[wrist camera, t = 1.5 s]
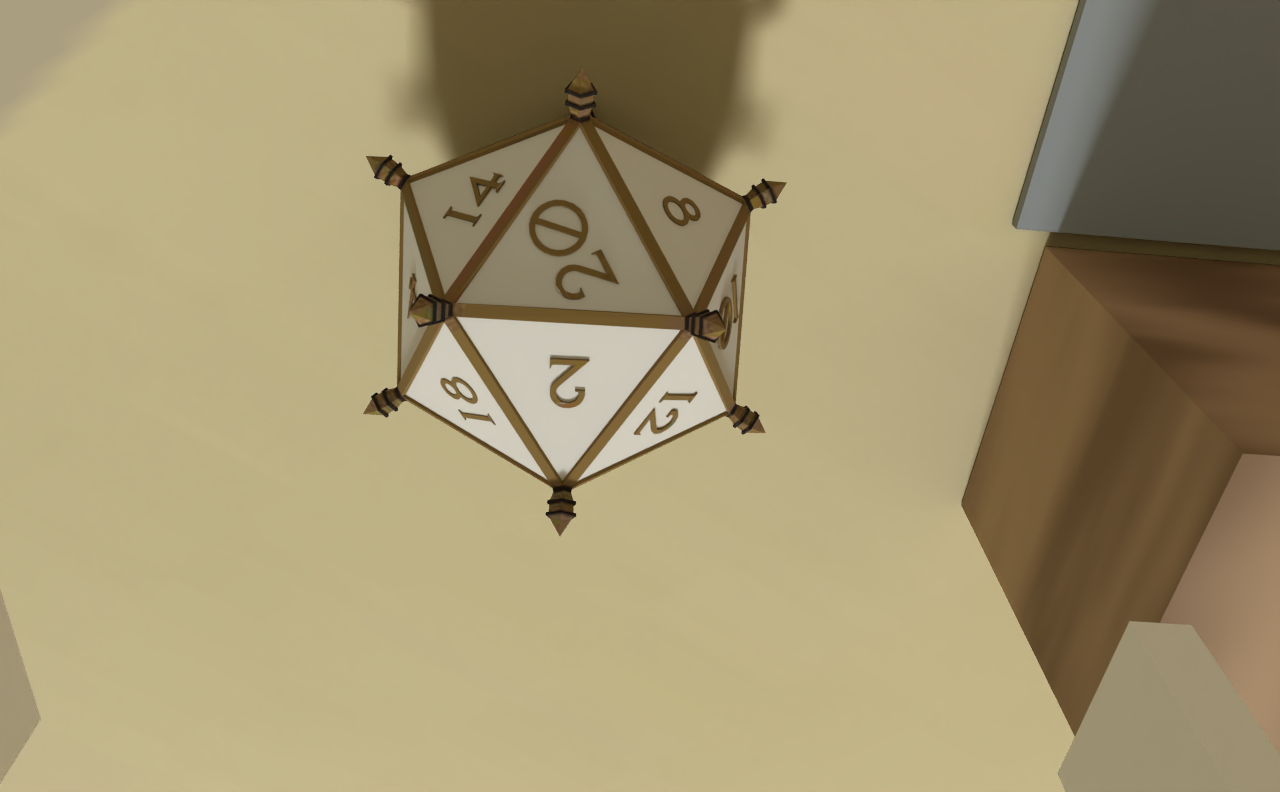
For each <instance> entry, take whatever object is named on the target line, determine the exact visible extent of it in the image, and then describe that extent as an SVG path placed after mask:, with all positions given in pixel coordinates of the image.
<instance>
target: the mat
mask: <svg viewBox="0 0 1280 792" xmlns="http://www.w3.org/2000/svg"><path fill="white" fill-rule="evenodd" d="M1012 225H1013V226H1014V227H1015V228H1016V229H1024V230H1036V231H1048V232H1060V233H1072V234H1085V235H1097V236H1109V237H1121V238H1133V239H1145V240H1158V241H1170V242H1182V243H1194V244H1206V245H1218V246H1231V247H1243V248H1255V249H1267V250H1279V251H1280V0H1080V2H1079V5H1078V9H1077V12H1076V15H1075V19H1074V22H1073V25H1072V28H1071V32H1070V35H1069V38H1068V42H1067V45H1066V48H1065V52H1064V55H1063V58H1062V61H1061V65H1060V68H1059V71H1058V75H1057V78H1056V81H1055V84H1054V88H1053V91H1052V94H1051V98H1050V101H1049V104H1048V108H1047V111H1046V114H1045V117H1044V121H1043V124H1042V127H1041V131H1040V134H1039V137H1038V140H1037V144H1036V147H1035V150H1034V154H1033V157H1032V160H1031V164H1030V167H1029V170H1028V173H1027V177H1026V180H1025V183H1024V187H1023V190H1022V193H1021V196H1020V200H1019V203H1018V206H1017V210H1016V213H1015V216H1014V219H1013V223H1012Z"/></svg>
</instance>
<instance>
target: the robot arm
mask: <svg viewBox="0 0 1280 792" xmlns="http://www.w3.org/2000/svg"><path fill="white" fill-rule="evenodd" d="M40 719H41V718H40V715H39V712H38V708H37V705H36V702H35V699H34V696H33V692H32V689H31V686H30V683H29V680H28V677H27V673H26V670H25V667H24V664H23V661H22V657H21V654H20V651H19V648H18V645H17V641H16V638H15V635H14V632H13V629H12V625H11V622H10V619H9V616H8V613H7V609H6V606H5V603H4V600H3V597H2V593H1V590H0V783H1V782H2V780H3V778H4V777H5V775H6V774H7V772H8V770H9V769H10V767H11V766H12V764H13V762H14V761H15V759H16V758H17V756H18V754H19V753H20V751H21V750H22V748H23V747H24V745H25V743H26V742H27V740H28V739H29V737H30V735H31V734H32V732H33V731H34V729H35V727H36V726H37V724H38V723H39V721H40ZM1058 775H1059V778H1060V780H1061V782H1062V784H1063V787H1064V789H1065V791H1066V792H1280V755H1279V754H1278V752H1277V751H1276V749H1275V748H1274V746H1273V745H1272V743H1271V742H1270V740H1269V739H1268V737H1267V736H1266V734H1265V733H1264V731H1263V730H1262V728H1261V727H1260V726H1259V724H1258V723H1257V721H1256V720H1255V718H1254V717H1253V715H1252V714H1251V712H1250V711H1249V709H1248V708H1247V706H1246V705H1245V703H1244V702H1243V700H1242V699H1241V697H1240V696H1239V694H1238V693H1237V691H1236V690H1235V689H1234V687H1233V686H1232V684H1231V683H1230V681H1229V680H1228V678H1227V677H1226V675H1225V674H1224V672H1223V671H1222V669H1221V668H1220V666H1219V665H1218V663H1217V662H1216V660H1215V659H1214V657H1213V656H1212V654H1211V653H1210V652H1209V650H1208V649H1207V647H1206V646H1205V644H1204V643H1203V641H1202V640H1201V638H1200V637H1199V635H1198V634H1197V632H1196V631H1195V629H1194V628H1193V626H1192V625H1184V624H1168V623H1152V622H1136V621H1129V623H1128V626H1127V628H1126V630H1125V632H1124V634H1123V636H1122V638H1121V640H1120V642H1119V645H1118V647H1117V649H1116V651H1115V653H1114V655H1113V657H1112V659H1111V662H1110V664H1109V666H1108V668H1107V670H1106V672H1105V674H1104V676H1103V678H1102V681H1101V683H1100V685H1099V687H1098V689H1097V691H1096V693H1095V695H1094V698H1093V700H1092V702H1091V704H1090V706H1089V708H1088V710H1087V712H1086V714H1085V717H1084V719H1083V721H1082V723H1081V725H1080V727H1079V729H1078V731H1077V733H1076V736H1075V738H1074V740H1073V742H1072V744H1071V746H1070V748H1069V750H1068V753H1067V755H1066V757H1065V759H1064V761H1063V763H1062V765H1061V767H1060V769H1059V772H1058Z"/></svg>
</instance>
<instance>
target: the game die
mask: <svg viewBox="0 0 1280 792" xmlns="http://www.w3.org/2000/svg"><path fill="white" fill-rule="evenodd" d="M565 93H568V99H567V100H566V101H565V105H567V106H569V109H570V113H571V114H570V115H568V116H565V117H562V118H560V119H557V120H555V121H552V122H549V123H547V124H544V125H542V126H539V127H536V128H534V129H531V130H529V131H526V132H523V133H521V134H518V135H516V136H513V137H511V138H508V139H505V140H503V141H500V142H498V143H495V144H492V145H490V146H487V147H485V148H482V149H479V150H477V151H474V152H472V153H469V154H466V155H464V156H461V157H459V158H456V159H454V160H451V161H448V162H446V163H443V164H441V165H438V166H435V167H433V168H430V169H428V170H425V171H422V172H420V173H417V174H415V175H412V176H411V175H408V174H407V173H406V172H405V171H404V170H403V168H402V164H401V163H399V164H397V163H396V162H395V161H394V160H392V157H393V156H391V155H390V156H389V157H374V156H366V157H367V159H368V161H369V163H370V165H371V168H372V170H373V172H374V174H375V176H374V178H376V179H382V180H383V181H385V183H384V184H386V185H389V186H390V185H393V186H396V187H398V188H399V189H400V190H401V203H400V258H399V313H398V368H397V387H396V388H393V389H389V390H388V389H387V388H385V389H384V390H383V391H382V393H380V394H378V393H375V394H374V395H372V396H371V398H372V400H371V402H370V403H369V405H368V407H367V408H366V410H365V412H364V413H363V414H373V415H384V416H385V417H386V418H387V417H388V413H390V412H391V411H393V410H394V411H398V408H397V407H398V406H399V405H400V404H401V403H402V402H404V401H408V402H410V403H412V404H413V405H415V406H417V407H418V408H420V409H422V410H423V411H425V412H427V413H428V414H430V415H432V416H433V417H435V418H437V419H438V420H440V421H442V422H443V423H445V424H447V425H448V426H450V427H452V428H453V429H455V430H457V431H458V432H460V433H462V434H463V435H465V436H467V437H468V438H470V439H472V440H473V441H475V442H477V443H478V444H480V445H482V446H483V447H485V448H487V449H488V450H490V451H492V452H493V453H495V454H497V455H498V456H500V457H502V458H503V459H505V460H507V461H508V462H510V463H512V464H513V465H515V466H517V467H518V468H520V469H522V470H523V471H525V472H527V473H528V474H530V475H532V476H533V477H535V478H537V479H539V480H540V481H542V482H544V483H545V484H547V485H549V486H550V487H552V488H553V494H552V497H551V499H550V500H548V501H547V503H548V504H549V512H546V516H548V517H549V518H550V519H551V521H552V523H553V525H554V526H555V528H556V530H557V532H558V534H559V536H560V535H561V534H562V532H563V531H564V529H565V528H566V526H567V525H568V523H569V522H570V520H571V519H573V518H574V517H576V513H573V506H574V505H576V501H573V499H572V495H571V490H572V489H574V488H576V487H578V486H580V485H582V484H584V483H586V482H589V481H591V480H593V479H595V478H597V477H599V476H601V475H603V474H605V473H607V472H609V471H611V470H614V469H616V468H618V467H620V466H622V465H624V464H626V463H628V462H630V461H632V460H634V459H636V458H638V457H641V456H643V455H645V454H647V453H649V452H651V451H653V450H655V449H657V448H659V447H661V446H663V445H666V444H668V443H670V442H672V441H674V440H676V439H678V438H680V437H682V436H684V435H686V434H688V433H691V432H693V431H695V430H697V429H699V428H701V427H703V426H705V425H707V424H709V423H711V422H713V421H715V420H718V419H720V418H722V417H724V416H726V417H729V418H730V419H731V421H732V422H733V423H734V425H733V427H734V428H736V427H738V428H739V429H741V430H742V434H745V433H765V431H764V428H763V426H762V424H761V422H760V420H759V418H758V417H759V414H758V413H757V412H755V411H754V413H753V412H752V411H750V409H749V408H748V407H747V406H745V407H742V406H739V405H737V404H736V391H737V378H738V365H739V353H740V340H741V327H742V315H743V302H744V289H745V277H746V264H747V251H748V239H749V226H750V213H751V211H752V210H753V209H755V208H759V207H761V208H766V205H767V204H769V203H776V202H777V201H776V199H777V198H778V196H779V194H780V193H781V191H782V189H783V188H784V186H785V185H786V183H785V182H773V181H765V180H764V178H763V179H762V183H760V184H759V185H757V186H755V185H752V189H751V190H750V192H749V193H748V194H747V195H744V196H741V195H739V194H737V193H735V192H733V191H731V190H729V189H727V188H725V187H724V186H722V185H720V184H718V183H716V182H714V181H712V180H710V179H708V178H707V177H705V176H703V175H701V174H699V173H697V172H695V171H693V170H691V169H690V168H688V167H686V166H684V165H682V164H680V163H678V162H676V161H674V160H673V159H671V158H669V157H667V156H665V155H663V154H661V153H659V152H657V151H656V150H654V149H652V148H650V147H648V146H646V145H644V144H642V143H640V142H639V141H637V140H635V139H633V138H631V137H629V136H627V135H625V134H623V133H622V132H620V131H618V130H616V129H614V128H612V127H610V126H608V125H606V124H605V123H603V122H601V121H599V120H597V119H595V116H594V114H593V112H592V108H593V107H596V103H595V102H594V95H597V90H596V89H595V87H594V86H593V84H592V83H590V82H589V80H588V78H587V76H586V74H585V72H584V70H583V68H581V70H580V71H579V73H578V74H577V76H576V77H575V79H574V80H573V82H571V83H570V84H569V85H568V86H567V87H566V88H565Z"/></svg>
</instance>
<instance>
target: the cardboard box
mask: <svg viewBox="0 0 1280 792" xmlns="http://www.w3.org/2000/svg"><path fill="white" fill-rule="evenodd" d="M962 507H963V509H964V511H965V514H966V516H967V518H968V520H969V522H970V524H971V526H972V528H973V530H974V532H975V534H976V536H977V538H978V540H979V542H980V544H981V546H982V548H983V550H984V552H985V554H986V556H987V558H988V560H989V562H990V564H991V566H992V569H993V571H994V573H995V575H996V577H997V579H998V581H999V583H1000V585H1001V587H1002V589H1003V591H1004V593H1005V595H1006V597H1007V599H1008V601H1009V603H1010V605H1011V607H1012V609H1013V611H1014V613H1015V615H1016V617H1017V619H1018V622H1019V624H1020V626H1021V628H1022V630H1023V632H1024V634H1025V636H1026V638H1027V640H1028V642H1029V644H1030V646H1031V648H1032V650H1033V652H1034V654H1035V656H1036V658H1037V660H1038V662H1039V664H1040V666H1041V668H1042V670H1043V672H1044V675H1045V677H1046V679H1047V681H1048V683H1049V685H1050V687H1051V689H1052V691H1053V693H1054V695H1055V697H1056V699H1057V701H1058V703H1059V705H1060V707H1061V709H1062V711H1063V713H1064V715H1065V717H1066V719H1067V721H1068V723H1069V725H1070V727H1071V730H1072V732H1073V734H1074V736H1076V733H1077V731H1078V729H1079V727H1080V725H1081V723H1082V721H1083V719H1084V717H1085V714H1086V712H1087V710H1088V708H1089V706H1090V704H1091V702H1092V700H1093V698H1094V695H1095V693H1096V691H1097V689H1098V687H1099V685H1100V683H1101V681H1102V678H1103V676H1104V674H1105V672H1106V670H1107V668H1108V666H1109V664H1110V662H1111V659H1112V657H1113V655H1114V653H1115V651H1116V649H1117V647H1118V645H1119V642H1120V640H1121V638H1122V636H1123V634H1124V632H1125V630H1126V628H1127V626H1128V623H1129V621H1136V622H1152V623H1168V624H1184V625H1192V626H1193V628H1194V629H1195V631H1196V632H1197V634H1198V635H1199V637H1200V638H1201V640H1202V641H1203V643H1204V644H1205V646H1206V647H1207V649H1208V650H1209V652H1210V653H1211V654H1212V656H1213V657H1214V659H1215V660H1216V662H1217V663H1218V665H1219V666H1220V668H1221V669H1222V671H1223V672H1224V674H1225V675H1226V677H1227V678H1228V680H1229V681H1230V683H1231V684H1232V686H1233V687H1234V689H1235V690H1236V691H1237V693H1238V694H1239V696H1240V697H1241V699H1242V700H1243V702H1244V703H1245V705H1246V706H1247V708H1248V709H1249V711H1250V712H1251V714H1252V715H1253V717H1254V718H1255V720H1256V721H1257V723H1258V724H1259V726H1260V727H1261V728H1262V730H1263V731H1264V733H1265V734H1266V736H1267V737H1268V739H1269V740H1270V742H1271V743H1272V745H1273V746H1274V748H1275V749H1276V751H1277V752H1278V754H1279V755H1280V266H1279V265H1267V264H1254V263H1242V262H1230V261H1217V260H1205V259H1193V258H1180V257H1168V256H1156V255H1143V254H1131V253H1119V252H1106V251H1094V250H1082V249H1069V248H1057V247H1045V250H1044V253H1043V256H1042V259H1041V262H1040V265H1039V268H1038V271H1037V274H1036V277H1035V280H1034V284H1033V287H1032V290H1031V293H1030V296H1029V299H1028V302H1027V305H1026V308H1025V311H1024V314H1023V317H1022V320H1021V323H1020V327H1019V330H1018V333H1017V336H1016V339H1015V342H1014V345H1013V348H1012V351H1011V354H1010V357H1009V360H1008V363H1007V366H1006V370H1005V373H1004V376H1003V379H1002V382H1001V385H1000V388H999V391H998V394H997V397H996V400H995V403H994V406H993V409H992V412H991V416H990V419H989V422H988V425H987V428H986V431H985V434H984V437H983V440H982V443H981V446H980V449H979V452H978V455H977V459H976V462H975V465H974V468H973V471H972V474H971V477H970V480H969V483H968V486H967V489H966V492H965V495H964V498H963V501H962Z"/></svg>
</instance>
